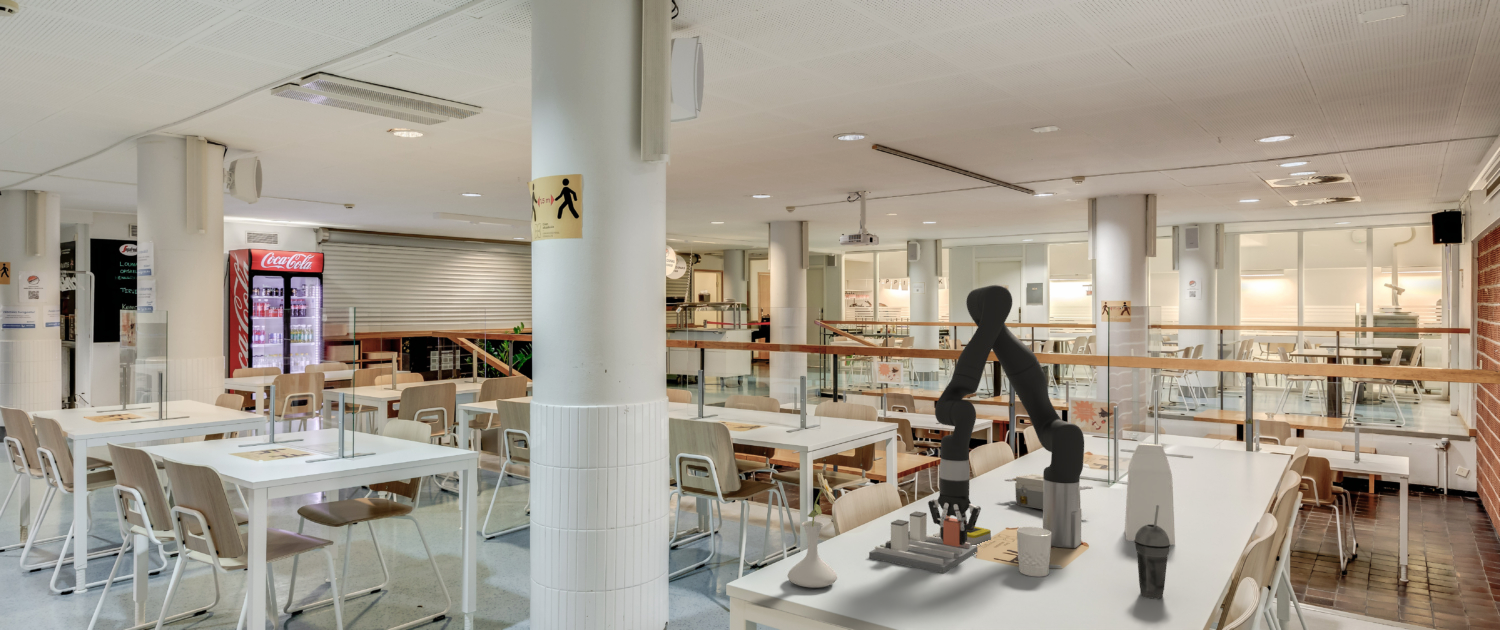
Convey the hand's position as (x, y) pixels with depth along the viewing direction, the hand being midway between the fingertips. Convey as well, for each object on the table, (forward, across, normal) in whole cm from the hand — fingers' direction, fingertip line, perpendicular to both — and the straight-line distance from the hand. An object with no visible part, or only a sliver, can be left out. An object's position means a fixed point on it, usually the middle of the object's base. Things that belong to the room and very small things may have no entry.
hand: (953, 542), depth 213 cm
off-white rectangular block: (+1, +10, 0) cm, 10 cm away
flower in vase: (+3, +17, +41) cm, 44 cm away
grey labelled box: (+3, -4, -67) cm, 67 cm away
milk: (+3, -37, -50) cm, 62 cm away
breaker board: (+3, +6, +5) cm, 8 cm away
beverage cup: (+3, -47, +2) cm, 47 cm away
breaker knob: (+1, +10, +11) cm, 15 cm away
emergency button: (+4, +4, -17) cm, 18 cm away
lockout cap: (0, 0, 0) cm, 0 cm away
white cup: (+3, -21, +2) cm, 21 cm away
